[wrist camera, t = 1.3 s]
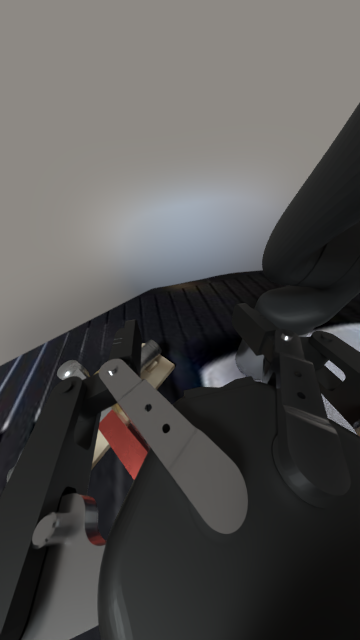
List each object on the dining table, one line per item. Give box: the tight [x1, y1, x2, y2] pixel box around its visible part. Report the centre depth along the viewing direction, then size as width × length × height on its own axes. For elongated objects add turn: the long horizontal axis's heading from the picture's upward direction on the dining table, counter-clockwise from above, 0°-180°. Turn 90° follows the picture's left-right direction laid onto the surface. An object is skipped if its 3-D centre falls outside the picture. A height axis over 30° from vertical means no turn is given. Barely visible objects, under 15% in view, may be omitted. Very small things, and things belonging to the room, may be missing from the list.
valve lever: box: [57, 360, 149, 480], centre depth 18 cm, size 20×3×3 cm, turn 52°
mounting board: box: [91, 343, 175, 470], centre depth 33 cm, size 30×12×3 cm, turn 142°
